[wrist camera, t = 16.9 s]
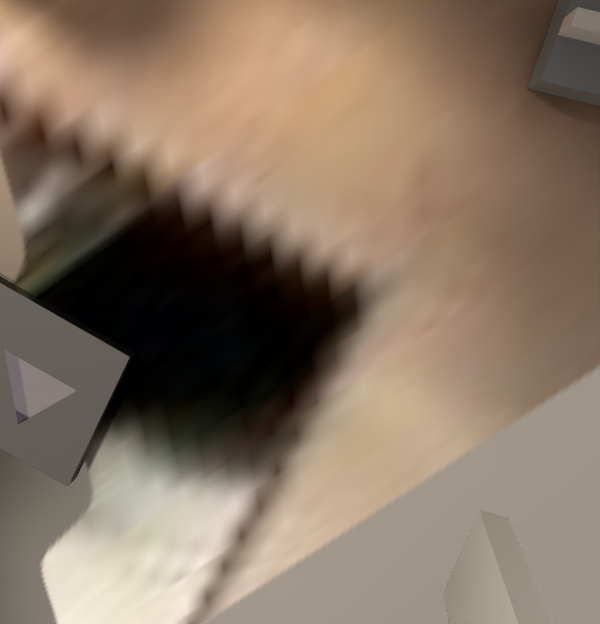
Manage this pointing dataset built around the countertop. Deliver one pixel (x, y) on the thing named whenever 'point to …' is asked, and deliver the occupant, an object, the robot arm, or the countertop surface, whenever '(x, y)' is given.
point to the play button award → (52, 383)
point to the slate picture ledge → (571, 53)
